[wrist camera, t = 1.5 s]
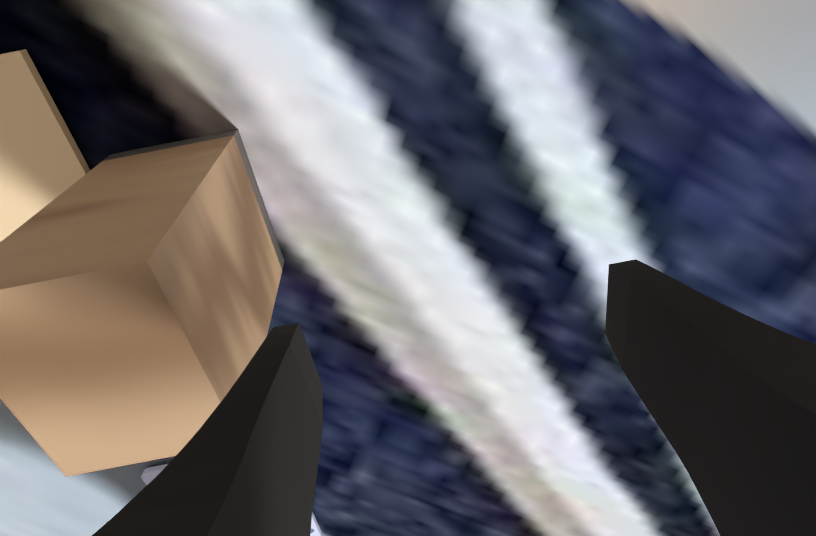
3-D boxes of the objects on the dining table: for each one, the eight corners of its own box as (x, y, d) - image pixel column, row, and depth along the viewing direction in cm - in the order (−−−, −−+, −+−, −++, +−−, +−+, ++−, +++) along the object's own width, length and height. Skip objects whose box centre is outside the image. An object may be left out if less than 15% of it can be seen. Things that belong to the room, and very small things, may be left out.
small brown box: (284, 261, 23) (241, 443, 14) (174, 282, 23) (66, 476, 14) (238, 129, 19) (147, 261, 11) (111, 154, 19) (-79, 305, 11)
